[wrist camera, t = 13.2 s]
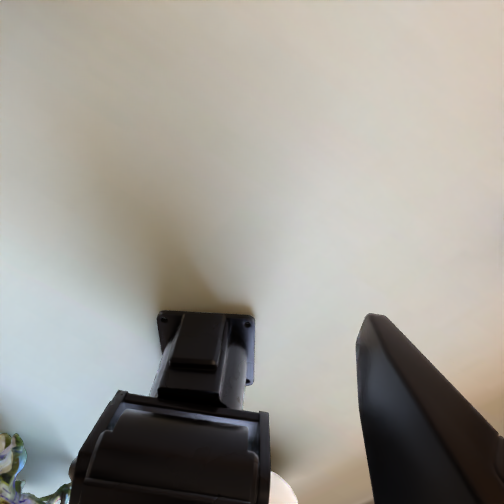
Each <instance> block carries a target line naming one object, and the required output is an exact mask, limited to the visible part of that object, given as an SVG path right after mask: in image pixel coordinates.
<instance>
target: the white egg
mask: <svg viewBox="0 0 504 504" xmlns="http://www.w3.org/2000/svg"><path fill="white" fill-rule="evenodd" d="M269 504H298V500H297V498H296V496H295V494H294V492H293V490H292V488H291V487H290V486H289V484H288V483H287V482H286V481H285V480H284V479H282V478H281V477H280V476H279V475H278V474H276V473H274V472H272V471H271V481H270V496H269Z"/></svg>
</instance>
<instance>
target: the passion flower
mask: <svg viewBox="0 0 504 504" xmlns="http://www.w3.org/2000/svg"><path fill="white" fill-rule="evenodd" d="M23 445H24V443H23V441H22V439H21V438H20V437H19V435H18V434H17V433H16V434H14V435H13V437H11V436H10V435H8V434H7V433H2V434H0V504H55V503H56V502H57V501H58V500H61V503H60V504H67V503H68V501H69V499H70V492H71V486H72V482H71V483H69V484H64V485H63V486H61V487H60V488H59V489H58V490H57V491H56V492H55V493H54V494H51V495H49V496H45V497H42V498H37V497H35V495H32V494H30V493H22V489H23V487H24V485H25V480H23V481H15V480H16V475H17V473H18V472H20V471H21V469H22V468H23V467H24V464H25V463H26V459H27V453H26V450H25V449H24V447H23ZM42 501H47V502H46V503H45V502H42Z"/></svg>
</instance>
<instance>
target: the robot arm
mask: <svg viewBox="0 0 504 504" xmlns="http://www.w3.org/2000/svg"><path fill="white" fill-rule="evenodd" d="M163 317H165V318H167V319H164V318H163ZM245 322H249V324H247V323H245ZM157 325H158V331H159V338H160V344H161V351H162V359H161V362H160V365H159V368H158V371H157V374H156V377H155V379H154V382H153V385H152V388H151V391H150V394H149V396H144V395H137V394H130V393H128V391H122V390H118V391H117V393H116V395H115V396H114V398H113V399H112V401H110V402H109V404H108V405H107V407H106V408H105V410H104V412H103V413H102V415H101V417H100V418H99V420H98V421H97V423H96V425H95V426H94V428H93V430H92V431H91V433H90V434H89V436H88V438H87V439H86V441H85V442H84V444H83V446H82V447H81V449H80V451H79V453H78V456H77V457H76V458H75V459H74V460H73V461H72V463H71V465H70V468H69V477H70V479H71V481H72V486H71V492H70V499H69V504H269V496H270V481H271V459H270V434H269V413H268V412H261V411H259V413H257V412H250V411H243V402H244V392H245V386H249V385H252V384H253V382H254V349H255V319H254V318H253V317H252V316H250V315H237V314H219V313H201V312H183V311H161V312H159V314H158V316H157ZM356 364H357V384H358V403H359V412H360V419H361V425H362V431H363V437H364V443H365V449H366V455H367V461H368V467H369V473H370V479H371V485H372V491H373V497H374V503H375V504H504V438H503V437H502V436H498V432H497V431H496V430H495V429H494V428H493V427H492V426H491V425H490V424H489V423H488V422H487V421H486V420H485V418H484V417H483V416H482V415H481V414H480V413H479V412H478V411H477V410H476V409H475V408H474V407H473V406H472V405H471V404H470V403H469V402H468V401H467V400H466V399H465V398H464V397H463V396H462V395H461V394H460V392H459V391H458V390H457V389H456V388H455V387H454V386H453V385H452V384H451V383H450V382H449V381H448V380H447V379H446V378H445V377H444V376H443V375H442V374H441V373H440V372H439V371H438V370H437V369H436V368H435V366H434V365H433V364H432V363H431V362H430V361H429V360H428V359H427V358H426V357H425V356H424V355H423V354H422V353H421V352H420V351H419V350H418V349H417V348H416V347H415V346H414V345H413V344H412V343H411V342H410V341H409V339H408V338H407V337H406V336H405V335H404V334H403V333H402V332H401V331H400V330H399V329H398V328H397V327H396V326H395V325H394V324H393V323H392V322H391V321H390V320H389V319H388V318H387V317H386V316H384V315H379V314H372V313H369V314H367V315H366V317H365V319H364V321H363V324H362V326H361V329H360V332H359V334H358V337H357V341H356Z"/></svg>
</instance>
